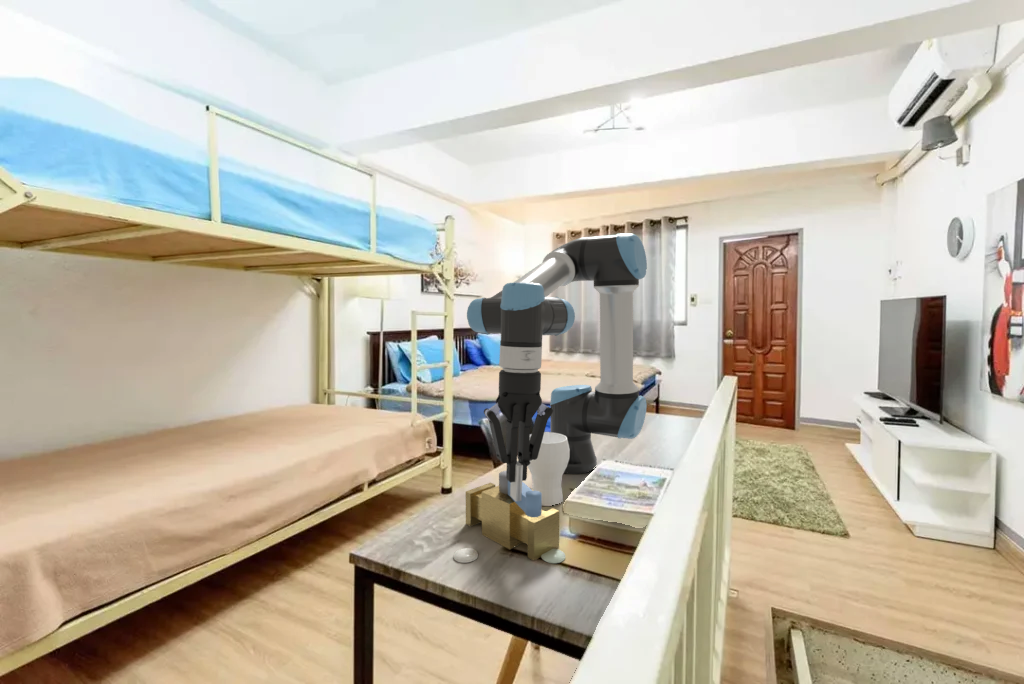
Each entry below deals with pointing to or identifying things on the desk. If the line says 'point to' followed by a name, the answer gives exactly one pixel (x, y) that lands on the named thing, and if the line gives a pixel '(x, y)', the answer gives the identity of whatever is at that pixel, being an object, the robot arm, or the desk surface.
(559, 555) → the pale green round dome
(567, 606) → the desk surface
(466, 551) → the white domed disc
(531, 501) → the lever
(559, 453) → the cup
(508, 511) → the valve body
